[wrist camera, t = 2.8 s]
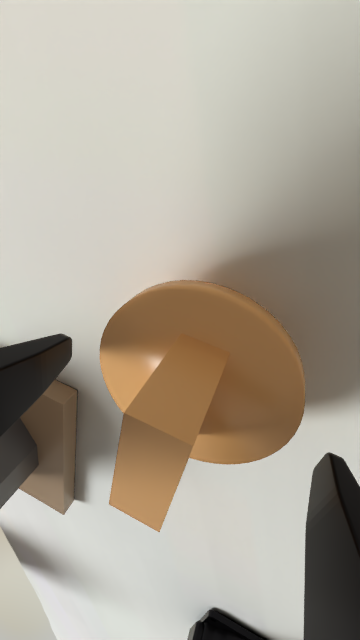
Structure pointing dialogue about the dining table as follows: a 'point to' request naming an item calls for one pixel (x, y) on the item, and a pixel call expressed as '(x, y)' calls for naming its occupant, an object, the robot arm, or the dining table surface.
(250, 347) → the orange cap
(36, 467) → the tube on square plate
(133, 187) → the dining table surface
